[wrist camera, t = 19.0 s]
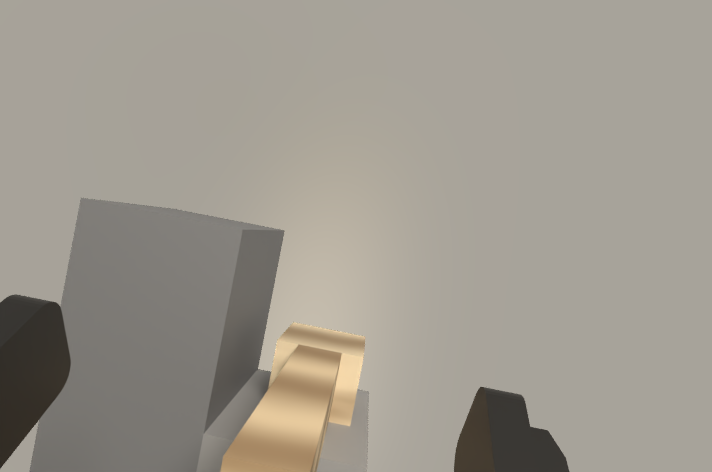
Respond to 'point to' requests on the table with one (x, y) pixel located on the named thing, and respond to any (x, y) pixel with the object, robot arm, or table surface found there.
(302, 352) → the tan wooden bar piece
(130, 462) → the stand
